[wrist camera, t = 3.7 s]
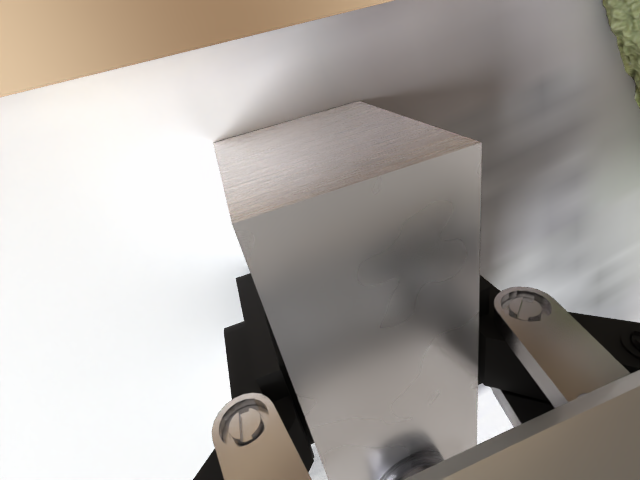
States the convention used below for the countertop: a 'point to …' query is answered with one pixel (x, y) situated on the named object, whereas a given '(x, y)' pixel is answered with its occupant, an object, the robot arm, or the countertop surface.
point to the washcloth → (627, 35)
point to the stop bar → (367, 279)
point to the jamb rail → (131, 32)
